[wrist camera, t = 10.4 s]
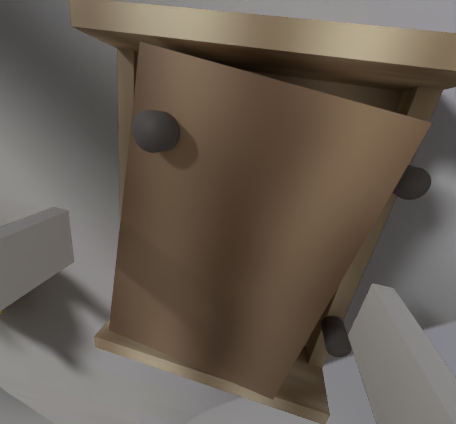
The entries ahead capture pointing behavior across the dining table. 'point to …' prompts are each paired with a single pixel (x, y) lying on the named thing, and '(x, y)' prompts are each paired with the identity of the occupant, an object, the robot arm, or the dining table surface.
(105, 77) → the dining table surface
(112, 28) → the box
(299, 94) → the door
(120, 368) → the dining table surface
